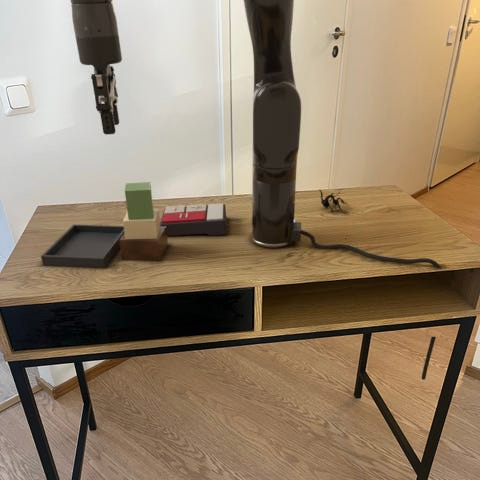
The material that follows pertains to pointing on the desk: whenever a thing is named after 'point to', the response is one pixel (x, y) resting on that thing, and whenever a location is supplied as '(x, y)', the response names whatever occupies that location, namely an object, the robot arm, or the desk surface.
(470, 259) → the desk surface
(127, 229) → the cream block
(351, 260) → the desk surface
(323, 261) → the desk surface
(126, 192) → the green block
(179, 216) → the calculator
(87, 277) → the desk surface
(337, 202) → the creature
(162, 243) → the walnut block
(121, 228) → the tray
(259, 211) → the robot arm
